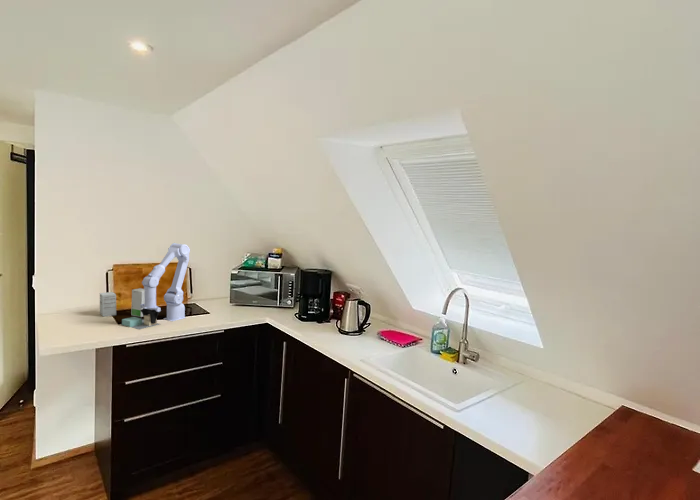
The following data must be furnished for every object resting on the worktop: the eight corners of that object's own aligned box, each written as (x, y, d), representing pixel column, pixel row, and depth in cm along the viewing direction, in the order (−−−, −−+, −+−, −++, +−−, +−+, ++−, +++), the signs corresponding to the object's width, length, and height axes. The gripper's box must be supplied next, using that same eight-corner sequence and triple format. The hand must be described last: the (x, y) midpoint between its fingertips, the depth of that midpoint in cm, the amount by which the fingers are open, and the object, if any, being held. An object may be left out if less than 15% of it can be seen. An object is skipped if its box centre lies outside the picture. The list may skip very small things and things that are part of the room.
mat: (142, 319, 241) (142, 319, 241) (160, 324, 233) (160, 324, 233) (120, 325, 229) (120, 324, 229) (139, 330, 222) (139, 329, 222)
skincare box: (130, 315, 248) (130, 289, 247) (140, 313, 254) (140, 287, 253) (141, 317, 245) (141, 291, 244) (150, 315, 251) (150, 289, 250)
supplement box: (99, 314, 249) (99, 292, 248) (113, 312, 254) (113, 291, 253) (102, 316, 244) (101, 295, 242) (116, 315, 248) (116, 293, 247)
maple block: (151, 322, 235) (151, 313, 234) (156, 324, 233) (156, 315, 232) (144, 324, 231) (143, 315, 231) (149, 325, 229) (149, 316, 228)
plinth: (134, 322, 235) (134, 316, 234) (142, 324, 231) (142, 318, 231) (122, 324, 229) (122, 319, 228) (130, 327, 225) (130, 321, 225)
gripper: (135, 297, 230) (135, 321, 232) (152, 301, 224) (152, 326, 225) (146, 295, 237) (146, 319, 238) (164, 299, 230) (163, 323, 231)
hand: (150, 322), depth 232 cm, fingers closed on maple block, 4 cm apart
